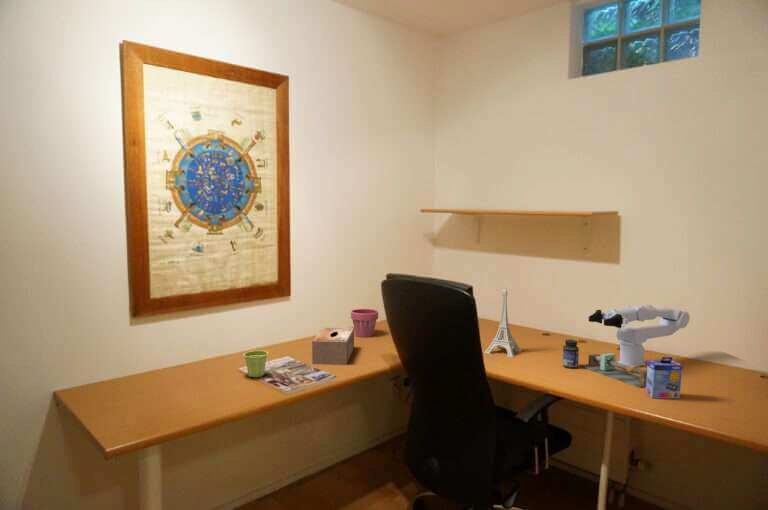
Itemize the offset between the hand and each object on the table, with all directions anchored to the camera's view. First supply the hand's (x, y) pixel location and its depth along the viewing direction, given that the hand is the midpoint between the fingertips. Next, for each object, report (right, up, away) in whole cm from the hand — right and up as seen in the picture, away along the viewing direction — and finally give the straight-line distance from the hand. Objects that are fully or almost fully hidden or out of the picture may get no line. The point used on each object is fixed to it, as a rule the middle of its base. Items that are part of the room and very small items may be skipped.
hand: (596, 321), depth 206 cm
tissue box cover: (-108, -19, +21) cm, 112 cm away
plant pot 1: (-136, -21, -6) cm, 138 cm away
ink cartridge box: (+12, -23, -27) cm, 37 cm away
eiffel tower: (-31, -18, +29) cm, 46 cm away
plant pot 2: (-96, -15, +59) cm, 114 cm away
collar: (+5, -19, 0) cm, 20 cm away
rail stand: (+7, -21, -4) cm, 22 cm away
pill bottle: (-8, -20, +7) cm, 23 cm away
